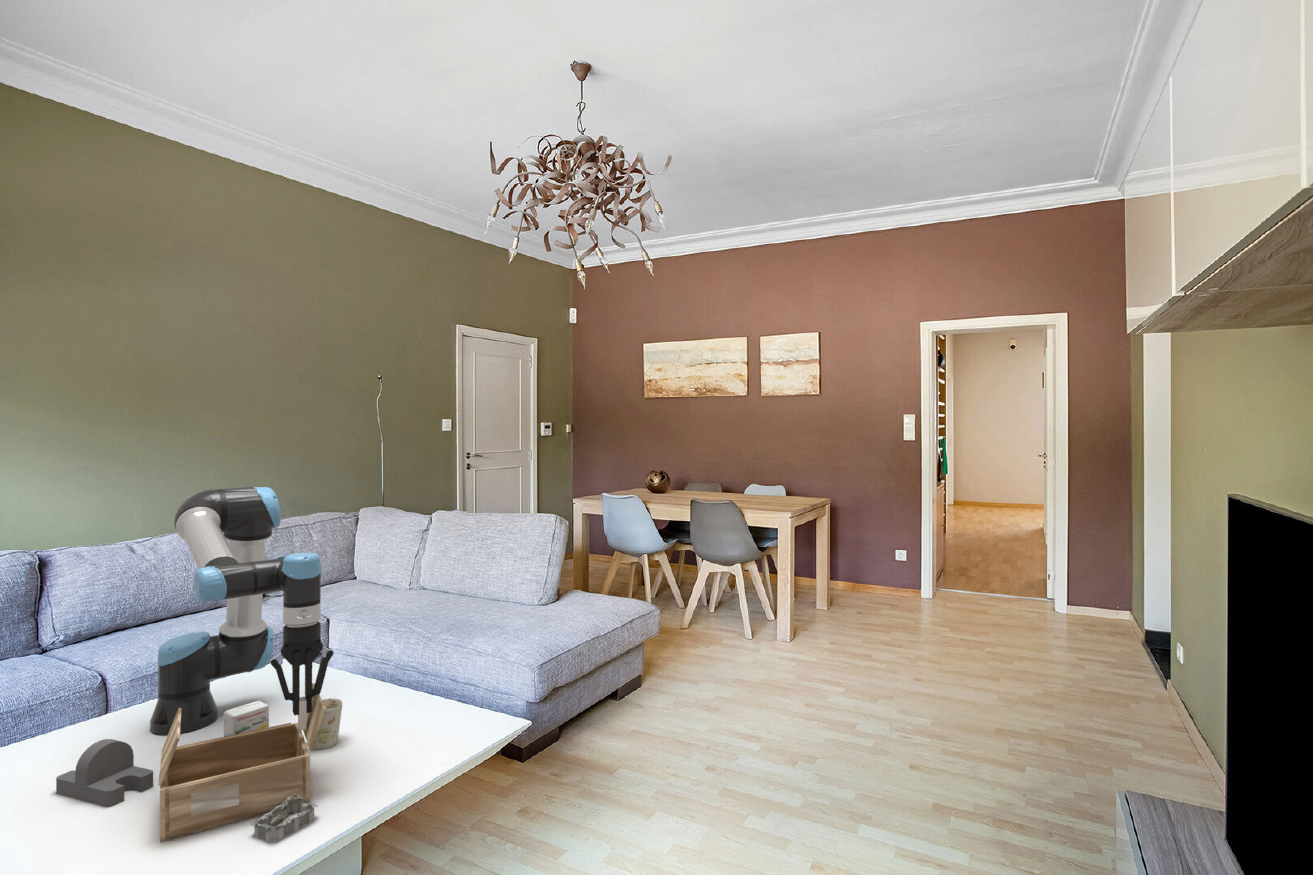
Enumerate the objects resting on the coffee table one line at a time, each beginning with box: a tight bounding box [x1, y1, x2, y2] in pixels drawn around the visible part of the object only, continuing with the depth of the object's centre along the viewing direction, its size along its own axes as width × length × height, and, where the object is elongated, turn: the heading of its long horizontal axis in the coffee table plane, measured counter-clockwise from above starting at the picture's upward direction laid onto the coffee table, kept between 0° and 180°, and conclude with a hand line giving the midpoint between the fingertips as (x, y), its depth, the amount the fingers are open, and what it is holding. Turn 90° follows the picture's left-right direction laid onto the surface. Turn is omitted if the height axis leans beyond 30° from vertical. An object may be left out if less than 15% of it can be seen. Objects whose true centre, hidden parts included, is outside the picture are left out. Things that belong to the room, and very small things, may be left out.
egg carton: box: [250, 793, 318, 843], centre depth 138 cm, size 11×8×4 cm
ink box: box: [223, 700, 270, 737], centre depth 168 cm, size 8×5×12 cm, turn 147°
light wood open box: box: [159, 722, 311, 843], centre depth 148 cm, size 22×26×10 cm
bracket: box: [55, 738, 154, 808], centre depth 152 cm, size 10×18×11 cm, turn 70°
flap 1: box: [157, 708, 182, 786], centre depth 141 cm, size 18×9×1 cm
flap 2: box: [302, 682, 326, 751], centre depth 156 cm, size 18×9×1 cm
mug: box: [301, 698, 343, 750], centre depth 172 cm, size 8×13×10 cm, turn 161°
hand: (302, 727), depth 154 cm, fingers closed
